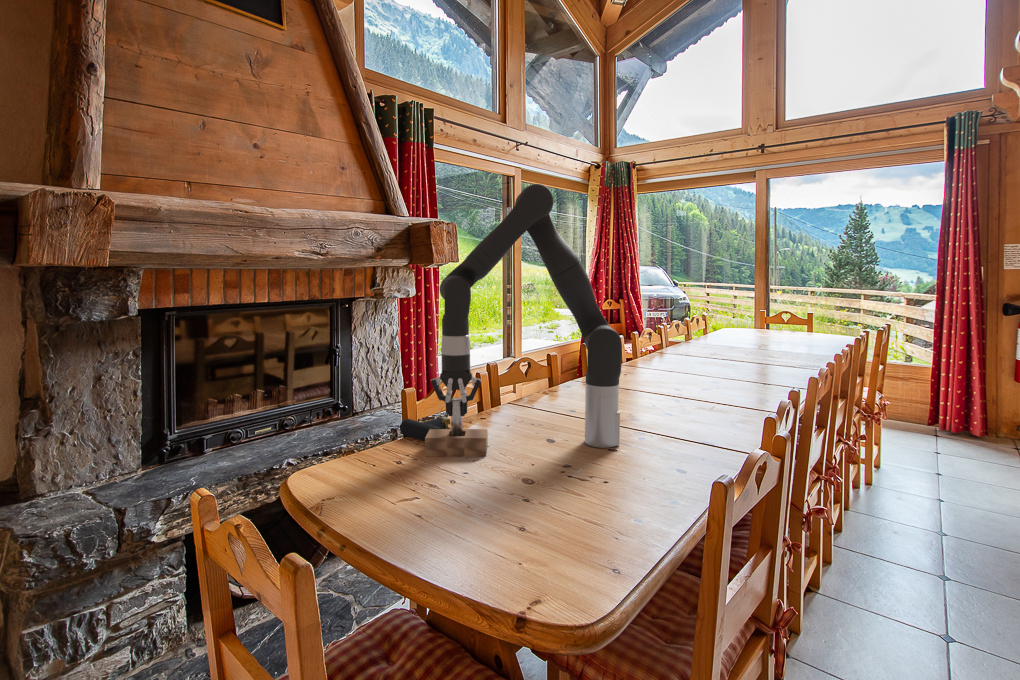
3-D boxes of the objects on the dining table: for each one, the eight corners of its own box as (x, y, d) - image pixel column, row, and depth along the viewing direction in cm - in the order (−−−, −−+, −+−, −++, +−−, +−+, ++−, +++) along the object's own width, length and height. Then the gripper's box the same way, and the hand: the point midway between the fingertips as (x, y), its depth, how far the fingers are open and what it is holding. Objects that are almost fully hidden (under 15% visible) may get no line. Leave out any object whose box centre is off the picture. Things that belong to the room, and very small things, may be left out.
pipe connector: (429, 411, 167) (463, 420, 157) (429, 428, 168) (463, 437, 158) (399, 420, 158) (433, 430, 149) (400, 437, 159) (434, 448, 149)
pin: (463, 433, 146) (462, 397, 145) (462, 437, 143) (461, 400, 142) (452, 433, 146) (451, 397, 145) (450, 437, 143) (450, 400, 142)
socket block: (487, 446, 149) (487, 429, 148) (486, 456, 141) (485, 438, 141) (430, 446, 149) (429, 429, 149) (425, 456, 141) (424, 438, 141)
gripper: (483, 349, 145) (483, 411, 148) (431, 349, 146) (432, 411, 148) (481, 354, 138) (481, 419, 140) (426, 354, 138) (428, 419, 140)
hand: (456, 415), depth 144 cm, fingers closed on pin, 3 cm apart
